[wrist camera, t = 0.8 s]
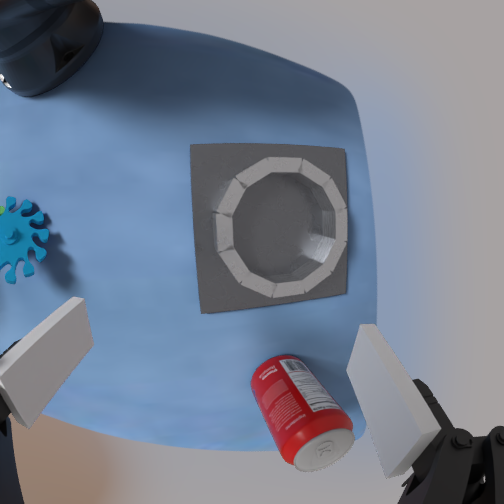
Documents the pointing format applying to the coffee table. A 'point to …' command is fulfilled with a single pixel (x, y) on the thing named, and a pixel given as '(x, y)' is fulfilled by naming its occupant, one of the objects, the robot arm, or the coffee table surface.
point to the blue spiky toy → (20, 238)
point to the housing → (268, 223)
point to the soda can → (301, 414)
